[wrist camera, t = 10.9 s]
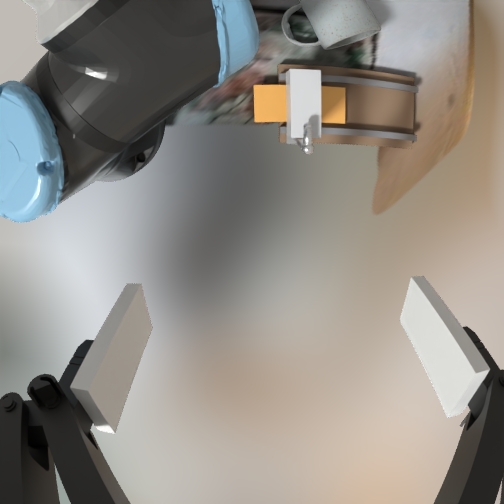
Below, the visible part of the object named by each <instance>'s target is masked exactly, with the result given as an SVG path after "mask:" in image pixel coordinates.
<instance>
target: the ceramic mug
mask: <svg viewBox="0 0 504 504" xmlns="http://www.w3.org/2000/svg"><path fill="white" fill-rule="evenodd" d="M300 8H303V10H304V12H305V14H306V15H307V17H308V19H309V21H310V23H311V25H312V27H313V29H314V31H315V33H316V35H317V37H318V39H319V40H318V42H315V43H301V42H298V41H296V40H295V39H294V37H293V35H292V33H291V30H290V24H289V23H288V19H289V17H290V16H291V14H293V13H294V12H295V11H297V10H298V9H300ZM281 25H282V30H283V33H284V35H285V37H286V38H287V39H288V40H289V41H290V42H292V43H293V44H296V45H299V46H303V47H313V46H319V45H321V46H322V47H323V49H325V50H330V49H335V48H338V47H341V46H345V45H348V44H351V43H354V42H357V41H359V40H362V39H365V38H367V37H370V36H372V35H374V34H376V33H378V32H379V31H380V30H381V26H380V24H379V23H378V21H377V20H376V18H375V16H374V15H373V13H372V11H371V10H370V8H369V7H368V5H367V3H366V2H365V0H300V3H299V4H297V5H295V6H292V7H291V8H290V9H288V10H287V11H286V12H285V14H284V16H283V18H282V22H281Z"/></svg>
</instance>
